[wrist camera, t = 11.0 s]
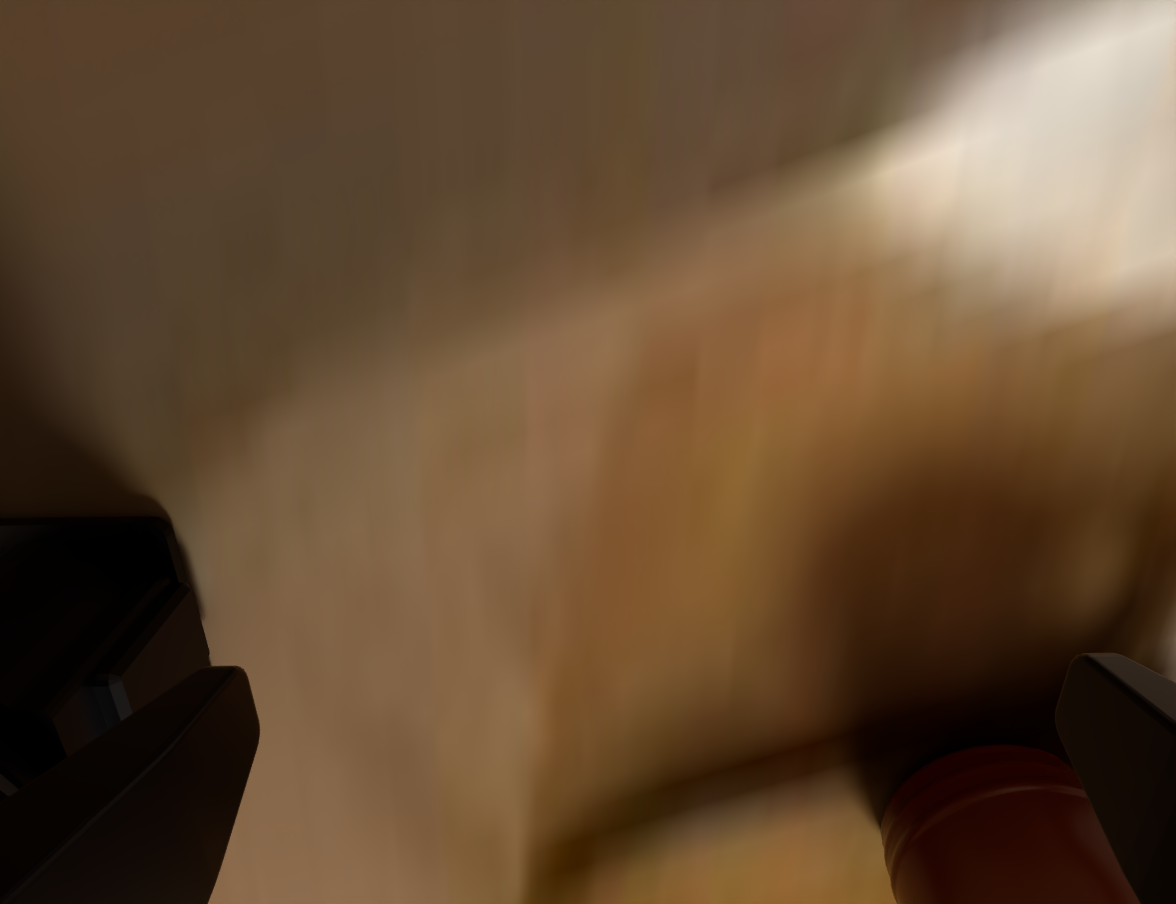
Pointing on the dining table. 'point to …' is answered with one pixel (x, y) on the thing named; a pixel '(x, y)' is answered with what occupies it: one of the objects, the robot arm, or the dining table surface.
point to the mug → (998, 833)
